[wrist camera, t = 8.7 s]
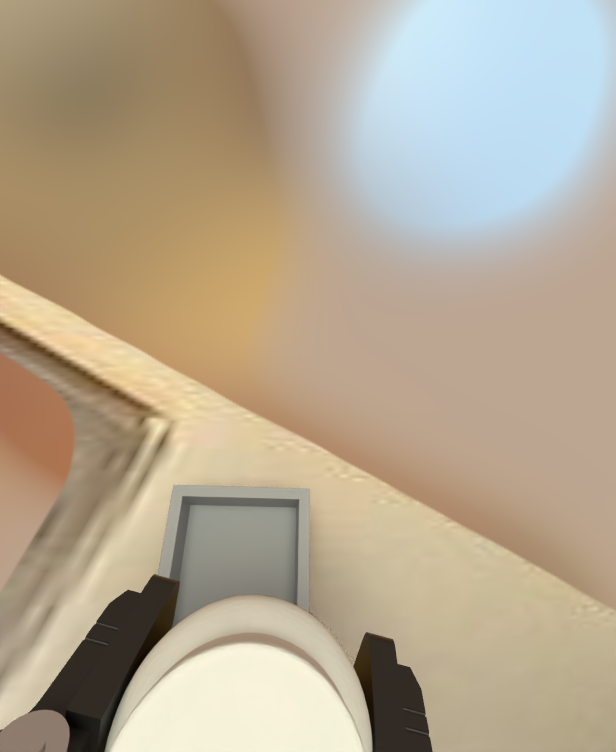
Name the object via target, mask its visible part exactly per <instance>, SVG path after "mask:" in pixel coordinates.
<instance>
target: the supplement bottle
mask: <svg viewBox="0 0 616 752" xmlns="http://www.w3.org/2000/svg"><path fill="white" fill-rule="evenodd" d="M105 752H373V746H372V733H371V725H370V719H369V713H368V709H367V705H366V701H365V697H364V693H363V690H362V687H361V684H360V681H359V679H358V676H357V674H356V672H355V670H354V667H353V665H352V663H351V662H350V660H349V658H348V656H347V654H346V653H345V651H344V650H343V648H342V647H341V645H340V644H339V642H338V641H337V639H336V638H335V637H334V636H333V635H332V634H331V632H330V631H329V630H328V629H327V628H326V627H325V626H324V625H323V624H322V623H321V622H320V621H319V620H318V619H317V618H316V617H315V616H314V615H312V614H311V613H310V612H308V611H307V610H305V609H303V608H301V607H299V606H297V605H295V604H293V603H291V602H288V601H286V600H283V599H279V598H275V597H271V596H265V595H234V596H231V597H227V598H224V599H221V600H219V601H216V602H214V603H211V604H208V605H206V606H204V607H202V608H200V609H199V610H197V611H195V612H194V613H192V614H190V615H189V616H187V617H186V618H185V619H183V620H182V621H180V622H179V623H178V624H177V625H176V626H174V627H173V628H172V629H171V630H170V631H169V632H168V633H167V634H166V635H165V636H164V637H163V638H162V639H161V640H160V641H159V642H158V643H157V644H156V645H155V646H154V647H153V649H152V650H151V651H150V652H149V654H148V655H147V656H146V658H145V659H144V660H143V662H142V663H141V665H140V666H139V668H138V669H137V671H136V673H135V674H134V676H133V678H132V679H131V681H130V683H129V685H128V687H127V688H126V690H125V693H124V695H123V697H122V699H121V702H120V704H119V706H118V709H117V711H116V714H115V717H114V719H113V722H112V726H111V729H110V732H109V735H108V739H107V744H106V748H105Z"/></svg>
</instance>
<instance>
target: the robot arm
mask: <svg viewBox="0 0 616 752" xmlns="http://www.w3.org/2000/svg"><path fill="white" fill-rule="evenodd" d="M179 586H180V581H178V580H174V579H170V578H167V577H163V576H159V575H156V574H154V575H153V576H152V577H151V578H150V580H149V581H148V583H147V585H146V586H145V588H144V589H143V591H142V592H141V593H138V592H134V591H130V590H127V591H126V592H124V593H123V594H122V595H120V596H119V597H117V598H116V599H115V600H113V601H112V602H111V603H109V605H108V606H107V608H106V609H105V610H104V612H103V613H102V615H101V616H100V617H99V619H98V620H97V622H96V624H95V625H94V626H93V627H92V628H91V630H90V631H89V633H88V634H87V635H86V638H85V640H83V641H82V642H81V644H80V645H79V647H78V648H77V649H76V651H75V652H74V654H73V655H72V656H71V658H70V659H69V660H68V662H67V663H66V665H65V666H64V667H63V669H62V670H61V672H60V673H59V674H58V676H57V677H56V679H55V680H54V681H53V683H52V684H51V686H50V687H49V688H48V690H47V691H46V692H45V694H44V695H43V697H42V698H41V699H40V701H39V702H38V703H37V704H36V706H35V707H34V708H33V709H32V710H31V711H30V712H29V713H28V714H25V715H23V716H21V717H19V718H17V719H16V720H14V721H13V722H11V723H10V724H9V725H8V726H6V727H5V728H4V729H2V730H0V752H105V748H106V744H107V739H108V735H109V732H110V729H111V726H112V722H113V719H114V717H115V714H116V711H117V709H118V706H119V704H120V702H121V699H122V697H123V695H124V693H125V690H126V688H127V687H128V685H129V683H130V681H131V679H132V678H133V676H134V674H135V673H136V671H137V669H138V668H139V666H140V665H141V663H142V662H143V660H144V659H145V658H146V656H147V655H148V654H149V652H150V651H151V650H152V649H153V647H154V646H155V645H156V644H157V643H158V642H159V641H160V640H161V639H162V638H163V637H164V636H165V635H166V634H167V633H168V632H169V631H170V630H171V628H172V625H173V620H174V615H175V609H176V603H177V598H178V592H179ZM353 667H354V670H355V672H356V674H357V676H358V679H359V681H360V684H361V687H362V690H363V693H364V697H365V701H366V705H367V709H368V713H369V719H370V725H371V733H372V746H373V752H432V746H431V741H430V737H429V730H428V724H427V718H426V717H425V707H424V702H423V696H422V691H421V688H420V686H419V684H418V682H417V680H416V678H415V676H414V674H413V672H412V670H411V668H410V667H407V666H403V665H399V664H397V658H396V650H395V644H394V641H393V639H390V638H386V637H382V636H379V635H375V634H371V633H368V632H366V633H365V635H364V638H363V641H362V643H361V646H360V649H359V652H358V655H357V658H356V661H355V664H354V666H353Z"/></svg>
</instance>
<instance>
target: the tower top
mask: <svg viewBox="0 0 616 752" xmlns="http://www.w3.org/2000/svg"><path fill="white" fill-rule="evenodd" d="M309 544H310V489H301V488H266V487H231V486H196V485H173V490H172V495H171V501H170V507H169V513H168V519H167V524H166V530H165V536H164V542H163V548H162V553H161V559H160V565H159V571H158V575H159V576H163V577H167V578H170V579H174V580H178V581H180V586H179V592H178V598H177V603H176V609H175V615H174V620H173V625H172V628H173V627H174V626H176V625H177V624H178V623H179V622H180V621H182V620H183V619H185V618H186V617H187V616H189V615H190V614H192V613H194V612H195V611H197V610H199V609H200V608H202V607H204V606H206V605H208V604H211V603H214V602H216V601H219V600H221V599H224V598H227V597H231V596H234V595H265V596H271V597H275V598H279V599H283V600H286V601H288V602H291V603H293V604H295V605H297V606H299V607H301V608H303V609H305V610H307V611H308V612H309ZM172 628H171V629H172Z"/></svg>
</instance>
